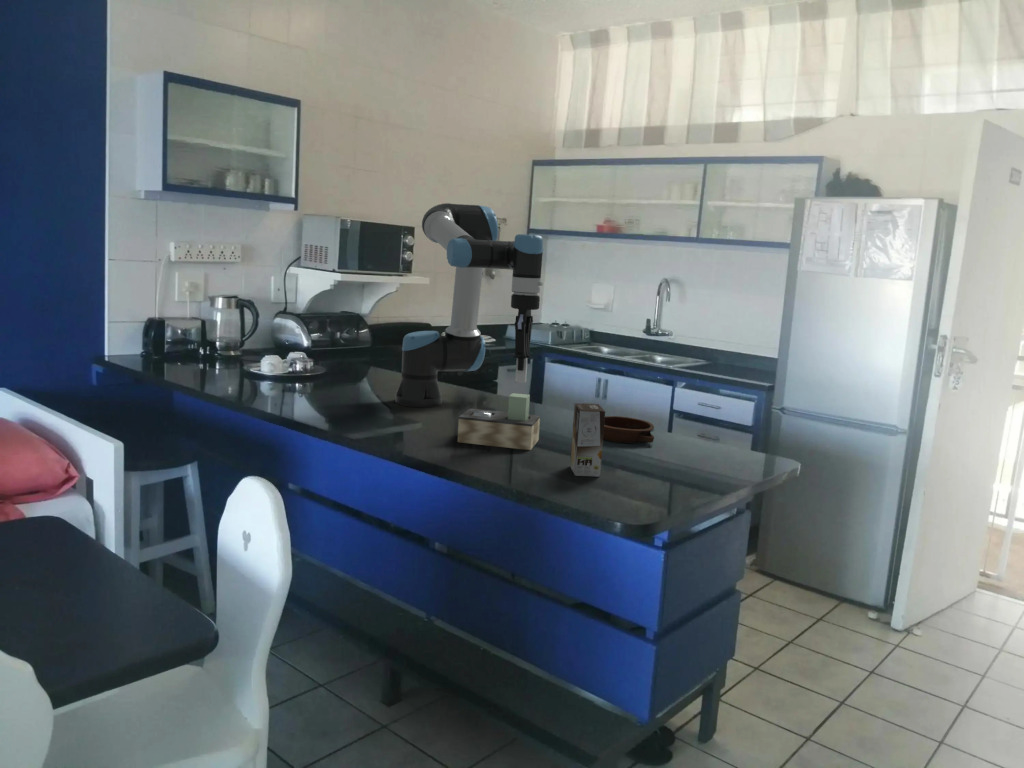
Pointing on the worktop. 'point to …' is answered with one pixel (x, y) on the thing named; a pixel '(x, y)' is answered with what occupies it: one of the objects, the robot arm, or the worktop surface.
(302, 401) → the worktop surface
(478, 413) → the metal peg
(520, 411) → the sage peg
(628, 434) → the dish
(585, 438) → the coffee box
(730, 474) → the worktop surface
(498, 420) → the socket block
